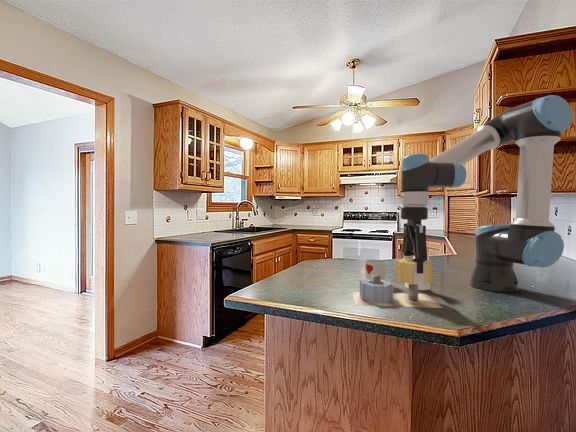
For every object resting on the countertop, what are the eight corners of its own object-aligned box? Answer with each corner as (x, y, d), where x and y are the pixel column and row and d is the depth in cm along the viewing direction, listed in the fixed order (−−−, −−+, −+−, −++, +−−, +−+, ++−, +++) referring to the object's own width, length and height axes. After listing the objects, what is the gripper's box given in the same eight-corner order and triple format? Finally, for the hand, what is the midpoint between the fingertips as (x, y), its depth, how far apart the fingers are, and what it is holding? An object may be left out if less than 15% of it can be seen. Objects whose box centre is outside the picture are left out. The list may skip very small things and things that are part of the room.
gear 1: (388, 294, 99) (388, 279, 99) (396, 303, 90) (396, 286, 90) (358, 293, 100) (358, 278, 100) (362, 302, 91) (362, 285, 91)
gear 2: (424, 277, 98) (424, 259, 98) (435, 285, 88) (436, 264, 88) (393, 276, 99) (393, 258, 99) (401, 284, 89) (401, 263, 89)
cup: (361, 286, 116) (361, 259, 116) (382, 285, 117) (382, 259, 117) (368, 291, 108) (369, 263, 108) (391, 291, 109) (391, 263, 109)
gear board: (425, 298, 100) (426, 272, 100) (442, 313, 86) (443, 282, 86) (350, 296, 103) (351, 270, 103) (355, 309, 89) (355, 280, 89)
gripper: (392, 206, 105) (392, 272, 105) (412, 206, 82) (411, 289, 83) (415, 206, 104) (415, 272, 104) (441, 206, 82) (440, 290, 82)
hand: (413, 280), depth 94 cm, fingers closed on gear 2, 10 cm apart
